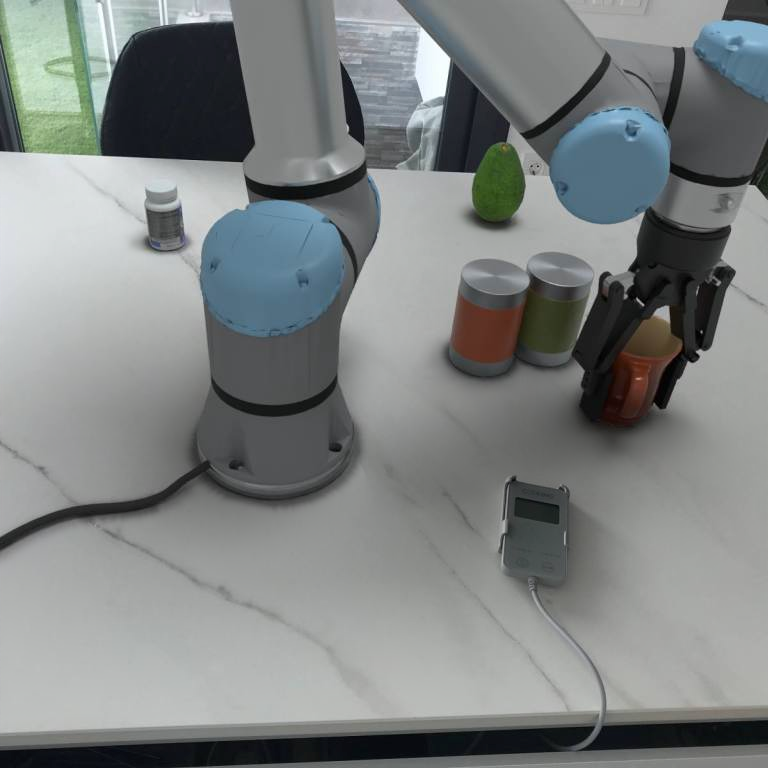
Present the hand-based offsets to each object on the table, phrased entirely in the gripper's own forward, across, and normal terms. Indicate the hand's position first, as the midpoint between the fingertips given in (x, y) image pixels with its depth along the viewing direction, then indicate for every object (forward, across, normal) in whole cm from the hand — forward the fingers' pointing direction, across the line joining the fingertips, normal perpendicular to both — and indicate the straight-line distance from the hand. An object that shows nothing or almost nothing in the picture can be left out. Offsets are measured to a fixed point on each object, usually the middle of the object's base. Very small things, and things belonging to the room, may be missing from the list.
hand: (622, 407), depth 83 cm
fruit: (+2, +6, +45) cm, 45 cm away
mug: (+2, -1, 0) cm, 2 cm away
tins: (+1, -6, +14) cm, 15 cm away
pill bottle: (+1, -42, +47) cm, 63 cm away
